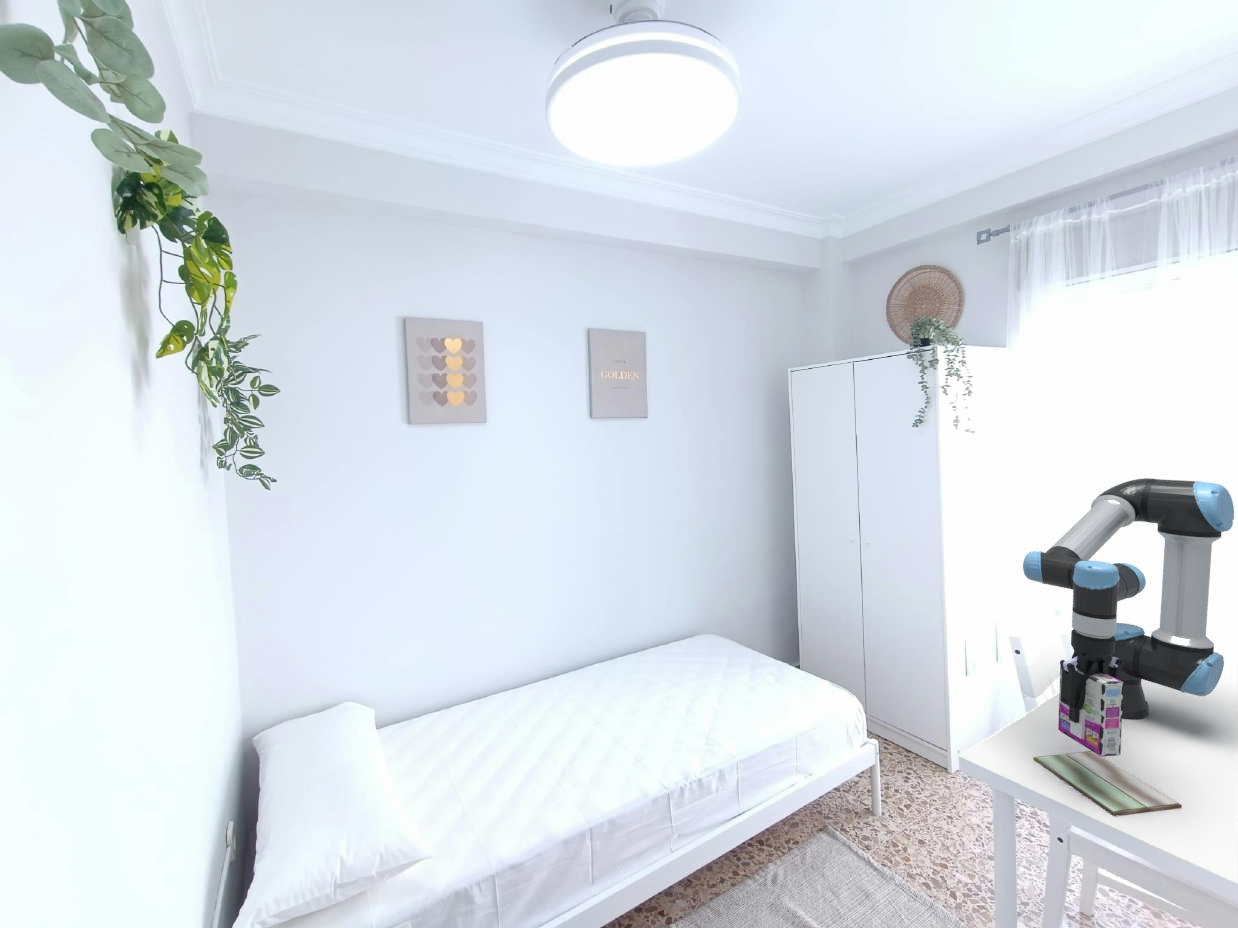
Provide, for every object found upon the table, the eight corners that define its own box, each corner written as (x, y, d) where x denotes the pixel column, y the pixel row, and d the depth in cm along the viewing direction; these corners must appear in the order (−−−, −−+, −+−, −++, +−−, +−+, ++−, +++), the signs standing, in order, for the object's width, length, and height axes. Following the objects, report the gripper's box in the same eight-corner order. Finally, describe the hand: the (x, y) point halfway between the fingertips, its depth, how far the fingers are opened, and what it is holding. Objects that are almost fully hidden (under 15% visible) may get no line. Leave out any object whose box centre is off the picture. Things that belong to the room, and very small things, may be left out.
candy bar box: (1122, 755, 124) (1125, 681, 123) (1100, 757, 124) (1103, 683, 122) (1076, 727, 135) (1079, 659, 134) (1056, 729, 135) (1058, 661, 133)
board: (1092, 752, 141) (1092, 749, 141) (1181, 807, 122) (1181, 803, 122) (1033, 759, 140) (1033, 756, 139) (1113, 815, 120) (1114, 812, 120)
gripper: (1113, 623, 132) (1108, 721, 134) (1041, 629, 130) (1037, 728, 132) (1146, 635, 125) (1141, 739, 126) (1071, 641, 122) (1067, 747, 124)
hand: (1088, 733), depth 129 cm, fingers closed on candy bar box, 5 cm apart
